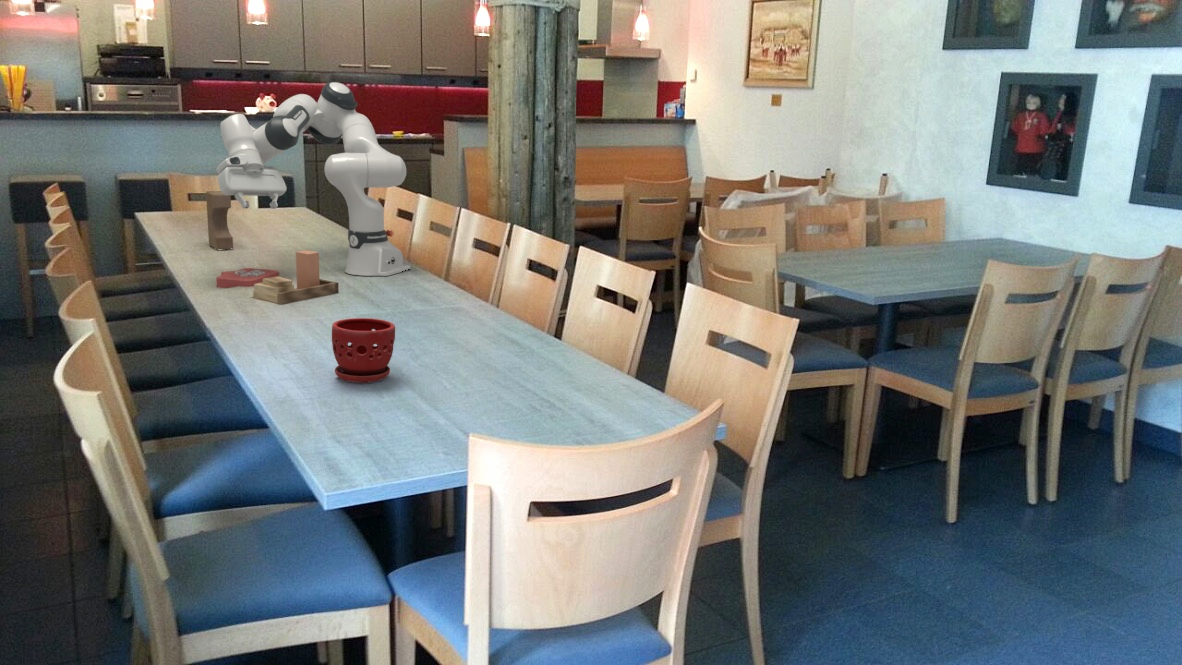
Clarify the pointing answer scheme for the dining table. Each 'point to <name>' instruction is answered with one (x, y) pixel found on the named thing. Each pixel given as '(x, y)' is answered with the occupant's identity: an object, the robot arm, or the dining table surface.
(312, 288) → the brown wooden tray
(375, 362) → the plant pot
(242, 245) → the dining table surface
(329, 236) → the dining table surface
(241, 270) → the plaque
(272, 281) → the offcut stack
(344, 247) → the dining table surface
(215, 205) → the decorative block
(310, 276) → the salmon orange upright block
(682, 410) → the dining table surface
